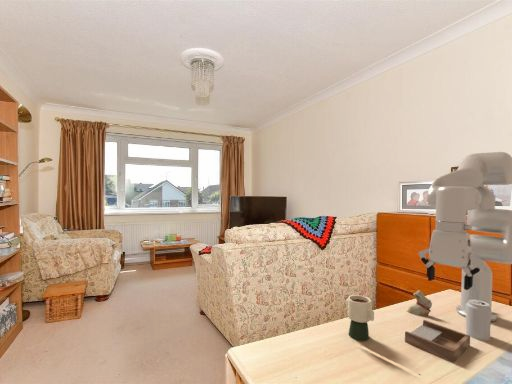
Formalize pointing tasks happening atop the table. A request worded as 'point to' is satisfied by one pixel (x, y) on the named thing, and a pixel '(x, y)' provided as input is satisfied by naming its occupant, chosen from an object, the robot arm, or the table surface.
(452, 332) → the walnut box
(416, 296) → the grey figurine
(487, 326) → the beverage can
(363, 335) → the character mug
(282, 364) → the table surface
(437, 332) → the concrete block
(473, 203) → the robot arm
